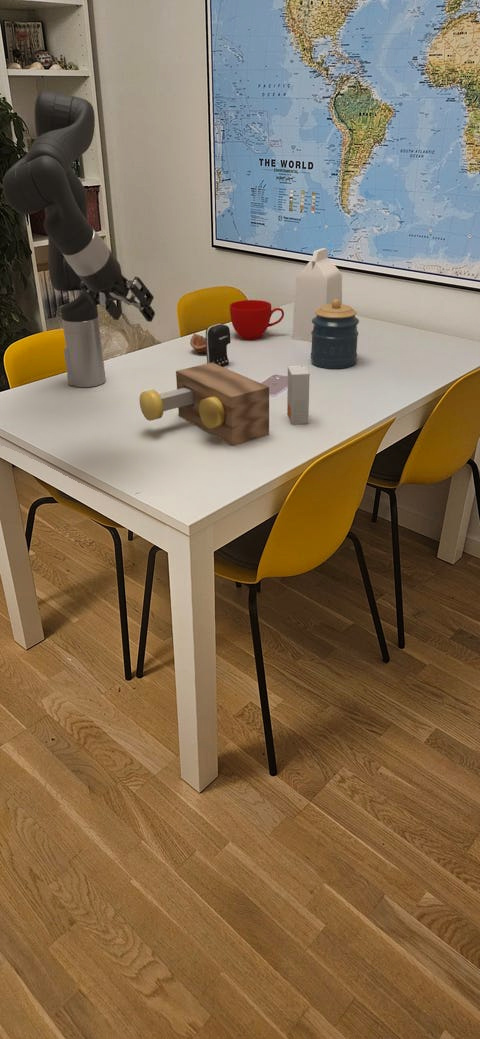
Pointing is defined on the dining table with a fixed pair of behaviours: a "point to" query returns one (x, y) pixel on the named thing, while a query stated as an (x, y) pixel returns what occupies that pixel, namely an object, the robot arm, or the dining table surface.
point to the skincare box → (298, 394)
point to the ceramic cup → (252, 318)
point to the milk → (314, 292)
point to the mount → (225, 403)
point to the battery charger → (217, 344)
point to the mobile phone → (276, 384)
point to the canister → (334, 336)
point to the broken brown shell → (198, 343)
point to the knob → (164, 401)
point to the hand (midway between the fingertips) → (134, 317)
